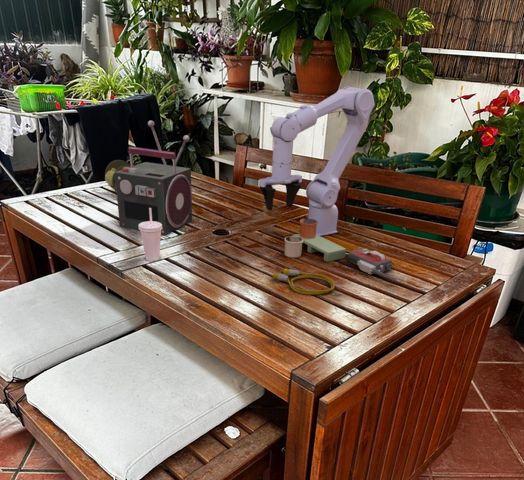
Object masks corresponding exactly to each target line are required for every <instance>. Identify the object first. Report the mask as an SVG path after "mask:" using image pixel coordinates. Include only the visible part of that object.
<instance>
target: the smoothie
mask: <svg viewBox="0 0 524 480" xmlns="http://www.w3.org/2000/svg"><path fill="white" fill-rule="evenodd" d="M149 214H150V221H146V222H142V223H140V224H139V225H138V226H139V228H138V229H139V230H138V231H139V232H140V237H141V242H142V246H143V252H144V255H145V259H146V261H149V262H156V261H159V260H160V256H161V255H160V254H161V241H162V234H161V229H162V224H161V223H159V222H155V221H152V212H151V208H149Z"/></svg>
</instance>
